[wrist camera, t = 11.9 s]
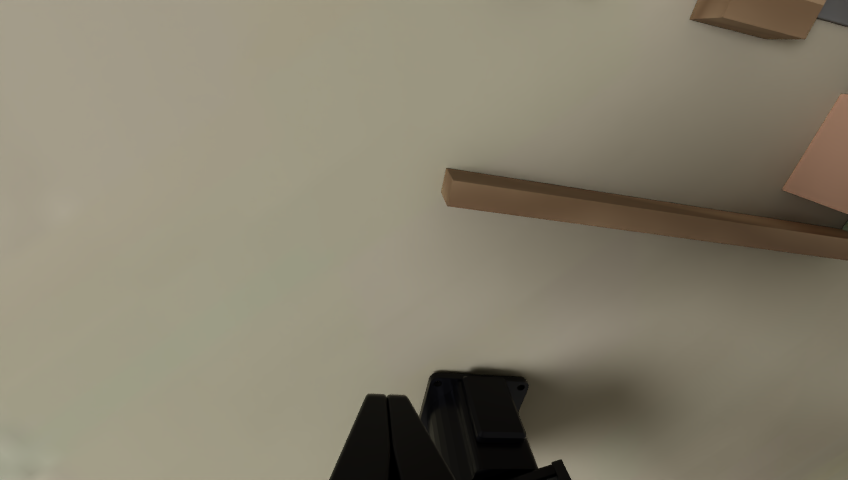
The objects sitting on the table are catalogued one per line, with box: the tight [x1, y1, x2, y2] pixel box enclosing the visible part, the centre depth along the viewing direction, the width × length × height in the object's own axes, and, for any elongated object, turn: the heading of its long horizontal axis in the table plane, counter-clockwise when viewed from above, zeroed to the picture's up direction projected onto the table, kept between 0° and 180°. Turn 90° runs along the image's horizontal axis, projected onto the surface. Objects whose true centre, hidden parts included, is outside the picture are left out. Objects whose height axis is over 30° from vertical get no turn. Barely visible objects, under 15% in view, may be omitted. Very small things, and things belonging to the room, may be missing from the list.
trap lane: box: [441, 0, 848, 260], centre depth 17 cm, size 16×25×2 cm, turn 79°
